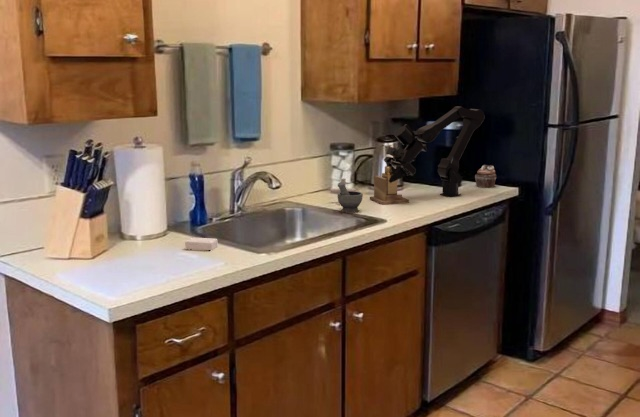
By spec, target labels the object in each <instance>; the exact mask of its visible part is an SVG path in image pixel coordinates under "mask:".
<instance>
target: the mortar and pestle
mask: <svg viewBox="0 0 640 417" xmlns="http://www.w3.org/2000/svg"><path fill="white" fill-rule="evenodd" d="M345 183H346V182H345ZM345 183H344V182H341V181H340V182H338V183H337V187H338V189H340V191H341V192H339V193H337V201H338V202H337V203H338V204H339V205H340V206H341V207H342V210H341V212H343V213H349V214H350V213H358V212H359V206H360V205H361V204H362V201H363V194H364V193H363V192H360V191H357V190H356V191H347V189H348V188H347V186H346V187H345Z"/></svg>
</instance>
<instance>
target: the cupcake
mask: <svg viewBox="0 0 640 417" xmlns="http://www.w3.org/2000/svg"><path fill="white" fill-rule="evenodd" d="M476 172H477V173H476V174H475V175H474V179H475V185H476V188H480V189H490V188H494V187H495V183H496V179H497V174H496V170H495V167H494V165H493V164H490V165H489V164H483V165H482V166H481V168H479V169H478V170H477V171H476Z"/></svg>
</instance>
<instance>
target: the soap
mask: <svg viewBox="0 0 640 417" xmlns="http://www.w3.org/2000/svg"><path fill="white" fill-rule="evenodd" d="M218 244H219V243H218V239H217V238H211V237H210V238H209V237H205V238H204V237H191V238H189V239H188V240H186V241H184V246H185V250H186V249H192V250H191V251H200V250H212V251H214V250H216V249H217V248H218V246H219V245H218ZM216 247H217V248H216ZM213 249H214V250H213Z"/></svg>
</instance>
